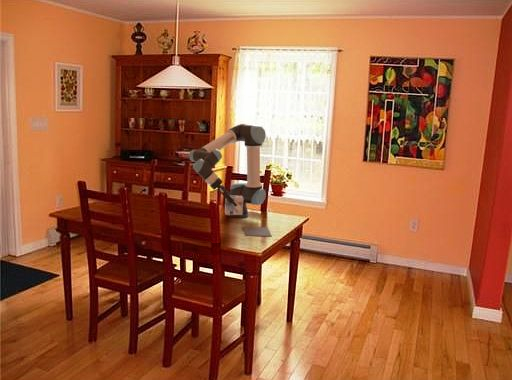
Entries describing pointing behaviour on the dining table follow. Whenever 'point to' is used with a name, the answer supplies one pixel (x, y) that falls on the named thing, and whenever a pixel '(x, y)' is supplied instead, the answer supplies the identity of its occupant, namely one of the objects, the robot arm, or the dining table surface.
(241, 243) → the dining table surface
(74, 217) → the dining table surface
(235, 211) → the light bulb box
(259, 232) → the mat
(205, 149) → the robot arm
